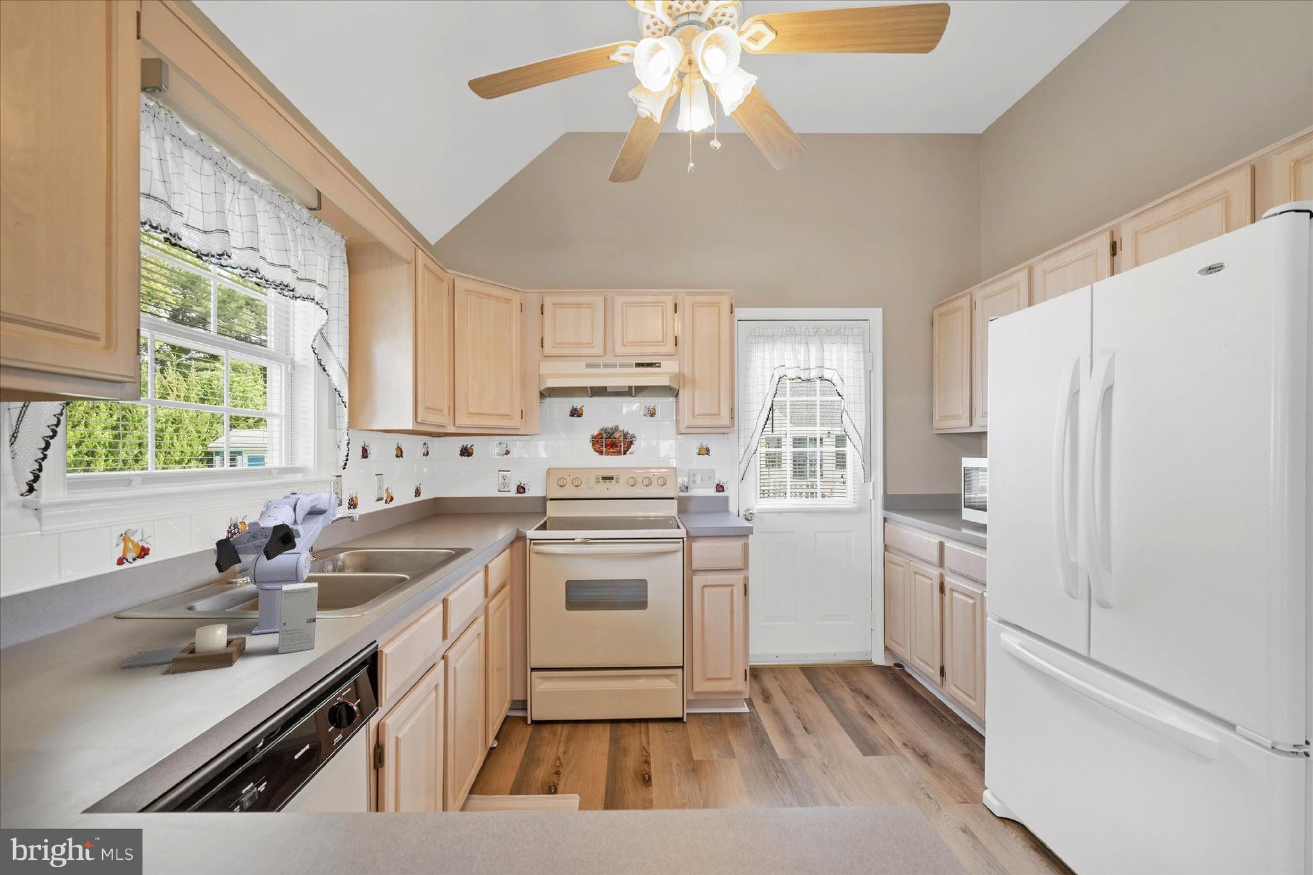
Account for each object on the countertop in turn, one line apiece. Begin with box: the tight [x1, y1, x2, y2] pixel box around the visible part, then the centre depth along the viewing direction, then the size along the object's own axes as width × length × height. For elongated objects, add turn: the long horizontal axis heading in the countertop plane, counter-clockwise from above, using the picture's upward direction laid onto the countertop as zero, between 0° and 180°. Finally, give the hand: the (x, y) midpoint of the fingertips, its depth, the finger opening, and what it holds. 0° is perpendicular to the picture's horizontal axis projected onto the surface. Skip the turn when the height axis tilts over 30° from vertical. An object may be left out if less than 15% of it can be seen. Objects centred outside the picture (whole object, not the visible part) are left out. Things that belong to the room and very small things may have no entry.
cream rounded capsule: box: [194, 623, 228, 654], centre depth 98 cm, size 4×4×6 cm
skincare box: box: [277, 581, 319, 654], centre depth 105 cm, size 6×4×12 cm
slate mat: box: [120, 646, 186, 669], centre depth 99 cm, size 7×7×1 cm
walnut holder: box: [171, 636, 247, 675], centre depth 98 cm, size 8×8×2 cm
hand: (243, 561), depth 98 cm, fingers open, 7 cm apart
